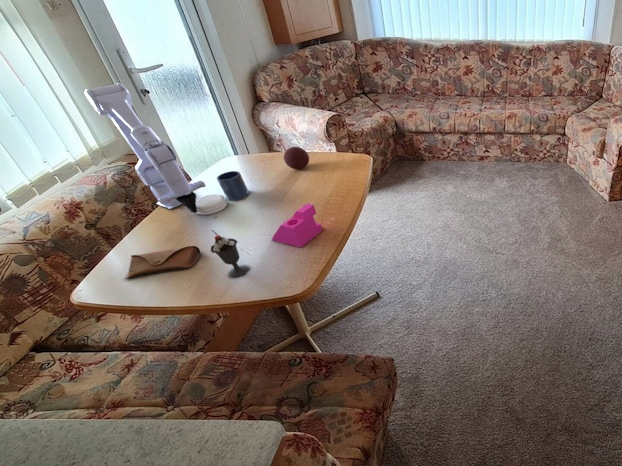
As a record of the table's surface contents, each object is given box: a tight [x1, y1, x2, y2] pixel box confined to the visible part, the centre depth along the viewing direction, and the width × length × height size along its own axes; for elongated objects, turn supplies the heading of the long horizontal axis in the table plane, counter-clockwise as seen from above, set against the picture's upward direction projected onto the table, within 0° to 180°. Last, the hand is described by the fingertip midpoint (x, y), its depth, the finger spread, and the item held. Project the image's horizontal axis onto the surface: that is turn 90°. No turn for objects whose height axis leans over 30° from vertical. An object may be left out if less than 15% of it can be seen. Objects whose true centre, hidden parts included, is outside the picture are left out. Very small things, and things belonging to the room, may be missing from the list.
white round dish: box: [196, 193, 228, 216], centre depth 144 cm, size 10×10×4 cm
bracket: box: [271, 203, 324, 248], centre depth 126 cm, size 12×10×10 cm
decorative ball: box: [283, 146, 310, 170], centre depth 168 cm, size 10×10×10 cm
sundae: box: [210, 229, 249, 278], centre depth 110 cm, size 7×7×15 cm
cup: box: [216, 170, 250, 202], centre depth 150 cm, size 8×8×9 cm
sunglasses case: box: [125, 245, 201, 280], centre depth 117 cm, size 18×7×7 cm, turn 107°
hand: (194, 211), depth 139 cm, fingers closed
